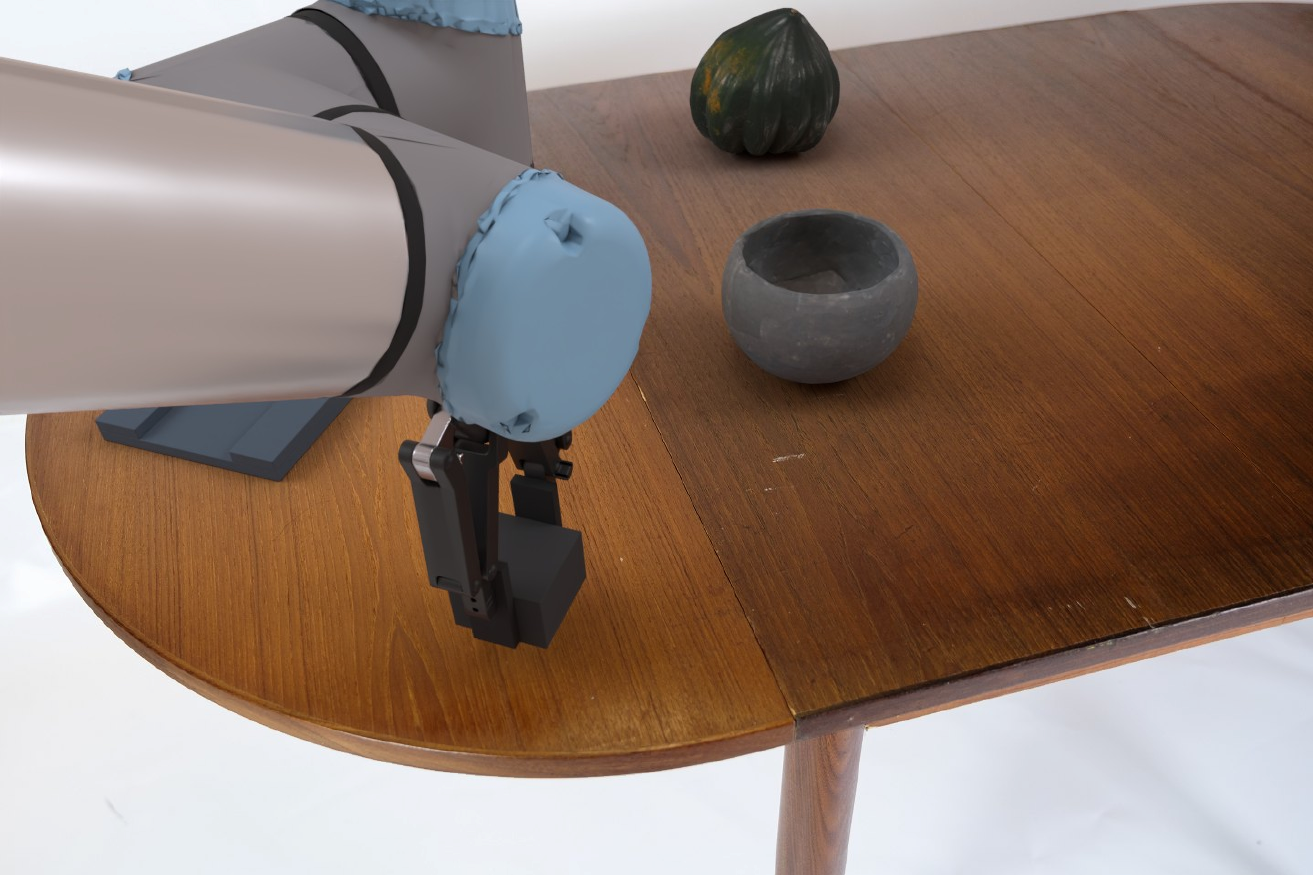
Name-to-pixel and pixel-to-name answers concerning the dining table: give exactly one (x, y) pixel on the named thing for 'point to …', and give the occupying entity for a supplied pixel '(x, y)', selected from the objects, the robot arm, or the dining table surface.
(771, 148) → the squash
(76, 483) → the dining table surface
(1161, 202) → the dining table surface
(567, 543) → the black block
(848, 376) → the bowl
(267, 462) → the dock pad
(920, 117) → the dining table surface
